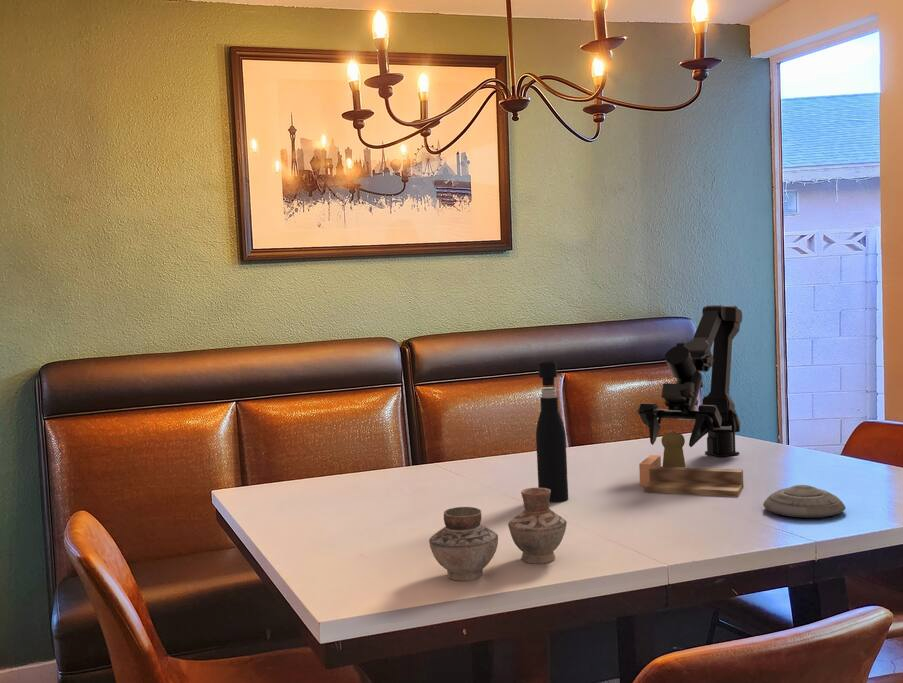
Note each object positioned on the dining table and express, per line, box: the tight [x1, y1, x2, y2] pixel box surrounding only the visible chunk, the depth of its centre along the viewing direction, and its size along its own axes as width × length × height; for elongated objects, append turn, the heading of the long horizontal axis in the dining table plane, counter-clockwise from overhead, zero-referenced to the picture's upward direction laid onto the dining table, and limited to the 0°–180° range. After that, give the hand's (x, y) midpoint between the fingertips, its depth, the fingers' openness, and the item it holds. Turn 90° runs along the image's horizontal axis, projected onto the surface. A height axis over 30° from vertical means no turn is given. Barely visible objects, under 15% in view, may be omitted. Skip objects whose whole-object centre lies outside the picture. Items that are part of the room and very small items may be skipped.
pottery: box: [428, 487, 568, 582], centre depth 151 cm, size 11×25×12 cm, turn 119°
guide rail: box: [638, 454, 745, 498], centre depth 204 cm, size 22×17×5 cm
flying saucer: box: [762, 484, 846, 519], centre depth 177 cm, size 15×15×6 cm
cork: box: [661, 432, 687, 467], centre depth 210 cm, size 6×6×11 cm
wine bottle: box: [535, 360, 569, 504], centre depth 197 cm, size 6×6×30 cm
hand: (670, 444), depth 208 cm, fingers open, 9 cm apart
